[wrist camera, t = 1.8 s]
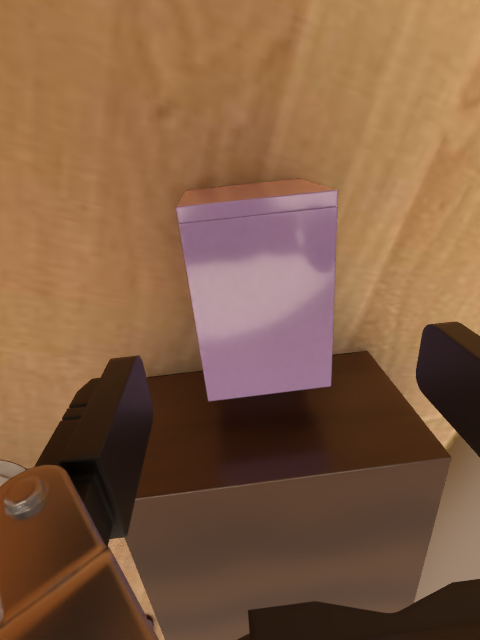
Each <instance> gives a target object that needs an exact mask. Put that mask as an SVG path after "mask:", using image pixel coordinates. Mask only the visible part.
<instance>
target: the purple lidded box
mask: <svg viewBox="0 0 480 640" xmlns="http://www.w3.org/2000/svg"><path fill="white" fill-rule="evenodd" d="M337 200H338V190H336V189H332V188H329V187H326V186H322V185H319V184H316V183H313V182H309V181H306V180H303V179H289V180H280V181H270V182H261V183H251V184H242V185H232V186H223V187H213V188H204V189H194V190H186V192H185V193H184V195H183V197H182V198H181V200H180V202H179V203H178V205H177V206H176V213H177V219H178V223H179V231H180V237H181V243H182V249H183V255H184V261H185V267H186V273H187V279H188V285H189V291H190V297H191V302H192V308H193V314H194V320H195V326H196V332H197V338H198V344H199V350H200V356H201V362H202V368H203V374H204V380H205V386H206V391H207V397H208V401H216V400H224V399H232V398H240V397H249V396H257V395H265V394H273V393H281V392H289V391H297V390H305V389H313V388H321V387H329V386H331V377H332V348H333V319H334V290H335V262H336V233H337V207H336V206H337Z"/></svg>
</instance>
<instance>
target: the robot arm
mask: <svg viewBox="0 0 480 640" xmlns="http://www.w3.org/2000/svg"><path fill="white" fill-rule="evenodd" d="M416 379H417V383H418V386H419V388H420V390H421V392H422V393H423V394H424V395H425V396H426V398H427V399H428V400H429V401H430V402H431V403H432V404H433V405H434V407H435V408H436V409H437V410H438V411H439V412H440V413H441V414H442V415H443V417H444V418H445V419H446V420H447V421H448V422H449V423H450V424H451V426H452V427H453V428H454V429H455V430H456V431H457V432H458V433H459V435H460V436H461V437H462V438H463V439H464V440H465V441H466V442H467V443H468V444H469V445H470V447H471V448H472V449H473V450H474V451H475V452H476V453H477V455H478V456H479V457H480V336H479V335H477V334H476V333H474V332H473V331H471V330H470V329H468V328H467V327H465V326H464V325H462V324H461V323H459V322H447V323H437V324H429V325H427V326H426V327H425V328H424V330H423V333H422V338H421V344H420V350H419V356H418V362H417V368H416ZM62 419H63V420H62V421H60V423H59V425H58V426H57V428H56V430H55V432H54V433H53V435H52V437H51V439H50V440H49V442H48V444H47V446H46V447H45V449H44V451H43V452H42V454H41V456H40V458H39V459H38V461H37V463H36V465H35V466H34V467H33V468H30V469H27V470H25V471H23V472H21V473H19V474H17V475H15V476H14V477H12V478H10V479H9V480H8V481H6V482H5V483H3V484H2V485H1V486H0V640H159V639H158V637H157V636H156V634H155V632H154V630H153V628H152V626H151V624H150V622H149V621H148V619H147V617H146V615H145V613H144V611H143V609H142V607H141V606H140V604H139V602H138V600H137V598H136V596H135V594H134V592H133V591H132V589H131V587H130V585H129V583H128V581H127V579H126V577H125V576H124V574H123V572H122V570H121V568H120V566H119V564H118V562H117V561H116V559H115V557H114V555H113V553H112V552H111V550H110V548H109V547H108V542H109V539H114V538H121V537H127V535H128V530H129V526H130V521H131V517H132V512H133V508H134V503H135V499H136V495H137V490H138V486H139V481H140V477H141V472H142V468H143V463H144V459H145V454H146V450H147V445H148V441H149V436H150V432H151V427H152V423H153V404H152V399H151V395H150V391H149V387H148V382H147V378H146V374H145V370H144V366H143V362H142V359H141V358H140V356H130V357H121V358H112V359H110V360H109V362H108V364H107V366H106V368H105V370H104V372H103V374H102V376H101V378H95V379H91V380H90V381H89V382H88V383H87V384H86V385H84V386H83V387H82V388H81V389H80V390H79V391H78V392H77V393H76V395H75V397H74V398H73V400H72V402H71V404H70V405H69V409H67V411H66V412H65V414H64V416H63V418H62ZM248 619H249V632H250V633H249V634H247V635H245V636H243V637H241V638H239V639H237V640H480V579H476V580H468V581H461V582H453V583H451V584H449V585H447V586H445V587H443V588H441V589H440V590H438V591H436V592H434V593H432V594H430V595H428V596H426V597H425V598H423V599H421V600H419V601H417V602H415V603H413V604H411V605H410V606H408V607H406V608H404V609H402V610H400V611H398V612H395V613H383V612H377V611H371V610H365V609H359V608H353V607H347V606H342V605H336V604H330V603H324V602H318V601H312V602H304V603H297V604H289V605H282V606H274V607H267V608H259V609H252V610H248Z"/></svg>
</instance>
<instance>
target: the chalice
mask: <svg viewBox="0 0 480 640" xmlns="http://www.w3.org/2000/svg"><path fill="white" fill-rule="evenodd" d="M25 470H26V469H24V468H23V467H21V466H19V465H17V464H14V463H11V462H8V461H0V486H1V485H2V484H3V483H5V482H6V481H8V480H9V479H10V478H12V477H14V476H15V475H17V474H19V473H21V472H23V471H25Z"/></svg>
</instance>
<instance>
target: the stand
mask: <svg viewBox="0 0 480 640" xmlns="http://www.w3.org/2000/svg"><path fill="white" fill-rule="evenodd" d="M147 382H148V387H149V391H150V395H151V399H152V404H153V423H152V427H151V432H150V436H149V441H148V445H147V450H146V454H145V459H144V463H143V468H142V472H141V477H140V481H139V486H138V490H137V495H136V499H135V503H134V508H133V512H132V517H131V521H130V526H129V530H128V535H127V537H125V540H126V542H127V545H128V547H129V550H130V552H131V555H132V558H133V560H134V563H135V565H136V568H137V570H138V573H139V575H140V578H141V580H142V583H143V585H144V588H145V590H146V593H147V595H148V598H149V600H150V603H151V605H152V608H153V610H154V613H155V615H156V618H157V621H158V623H159V626H160V628H161V631H162V633H163V636H164V638H165V640H237V639H239V638H241V637H243V636H245V635H247V634H249V633H250V632H249V619H248V610H252V609H259V608H267V607H274V606H282V605H289V604H297V603H304V602H312V601H318V602H324V603H330V604H336V605H342V606H347V607H353V608H359V609H365V610H371V611H377V612H383V613H395V612H398V611H400V610H402V609H404V608H406V607H408V606H410V605H411V604H413V603H414V600H415V596H416V592H417V588H418V585H419V581H420V577H421V573H422V569H423V566H424V561H425V557H426V554H427V550H428V546H429V542H430V538H431V535H432V530H433V527H434V523H435V519H436V515H437V511H438V508H439V504H440V500H441V496H442V492H443V489H444V485H445V481H446V477H447V473H448V469H449V465H450V461H451V456H450V455H449V453H448V452H447V451H446V450H445V448H444V447H443V446H442V444H441V443H440V442H439V441H438V439H437V438H436V437H435V436H434V434H433V433H432V432H431V431H430V429H429V428H428V427H427V426H426V424H425V423H424V422H423V420H422V419H421V418H420V417H419V415H418V414H417V413H416V412H415V410H414V409H413V408H412V407H411V405H410V404H409V403H408V401H407V400H406V399H405V398H404V396H403V395H402V394H401V393H400V391H399V390H398V389H397V388H396V386H395V385H394V384H393V382H392V381H391V380H390V379H389V377H388V376H387V375H386V374H385V372H384V371H383V370H382V369H381V367H380V366H379V365H378V363H377V362H376V361H375V360H374V358H373V357H372V356H371V355H370V353H369V352H368V351H365V352H357V353H349V354H341V355H332V377H331V386H329V387H321V388H313V389H305V390H297V391H289V392H281V393H273V394H265V395H257V396H249V397H240V398H232V399H224V400H216V401H208V397H207V391H206V386H205V380H204V374H203V371H200V372H192V373H184V374H175V375H167V376H159V377H150V378H147Z"/></svg>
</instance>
